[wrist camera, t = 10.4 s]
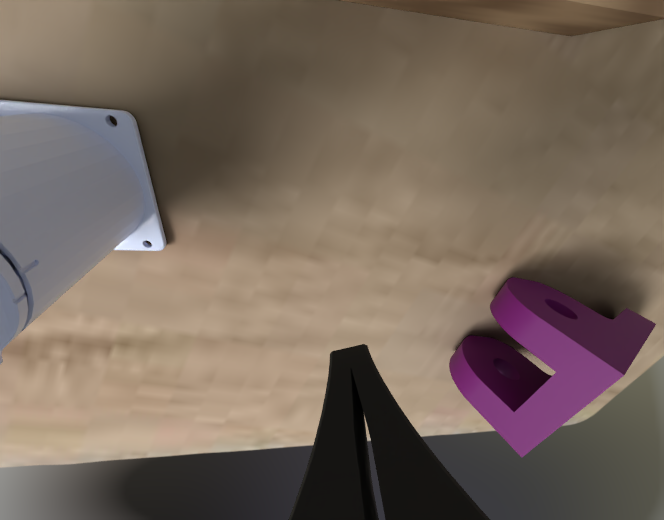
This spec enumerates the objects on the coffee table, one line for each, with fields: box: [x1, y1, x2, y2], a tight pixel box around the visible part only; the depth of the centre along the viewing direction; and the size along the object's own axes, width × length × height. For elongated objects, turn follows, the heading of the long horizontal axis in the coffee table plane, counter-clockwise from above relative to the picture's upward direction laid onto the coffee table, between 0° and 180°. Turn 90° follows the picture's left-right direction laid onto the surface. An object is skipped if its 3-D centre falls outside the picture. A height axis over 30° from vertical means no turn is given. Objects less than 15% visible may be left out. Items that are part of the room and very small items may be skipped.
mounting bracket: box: [449, 277, 656, 457], centre depth 26 cm, size 10×8×18 cm
